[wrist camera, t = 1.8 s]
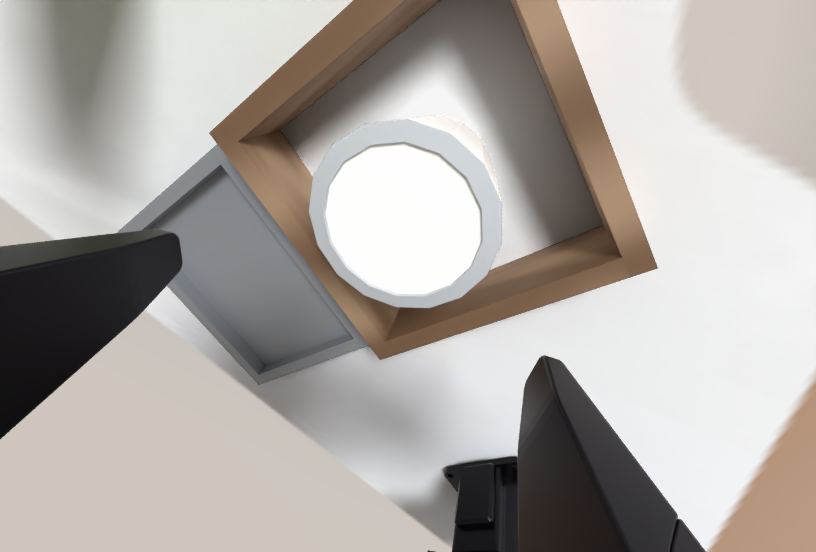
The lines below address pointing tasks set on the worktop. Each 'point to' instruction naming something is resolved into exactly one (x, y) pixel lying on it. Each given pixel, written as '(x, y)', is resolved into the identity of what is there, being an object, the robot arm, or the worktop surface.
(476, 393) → the worktop surface
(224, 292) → the charcoal tray
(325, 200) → the white tapered cup
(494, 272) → the walnut bin
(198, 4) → the worktop surface
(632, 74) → the worktop surface
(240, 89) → the worktop surface
